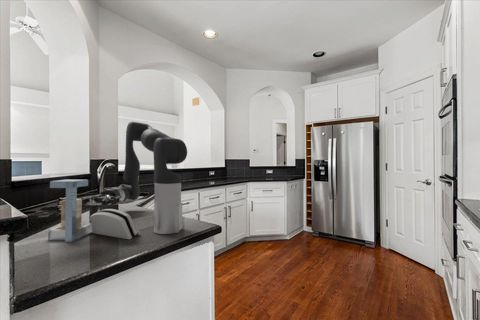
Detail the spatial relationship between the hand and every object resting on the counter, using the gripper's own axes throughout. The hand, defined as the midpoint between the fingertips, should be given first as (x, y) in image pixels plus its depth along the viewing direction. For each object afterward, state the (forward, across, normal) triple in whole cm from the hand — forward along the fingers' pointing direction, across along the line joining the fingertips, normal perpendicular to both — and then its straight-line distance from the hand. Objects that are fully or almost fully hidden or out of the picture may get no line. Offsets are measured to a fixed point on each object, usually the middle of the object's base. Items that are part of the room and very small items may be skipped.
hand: (91, 203), depth 91 cm
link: (+11, 0, +9) cm, 14 cm away
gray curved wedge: (+10, +13, +9) cm, 19 cm away
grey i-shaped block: (+12, 0, +9) cm, 15 cm away
